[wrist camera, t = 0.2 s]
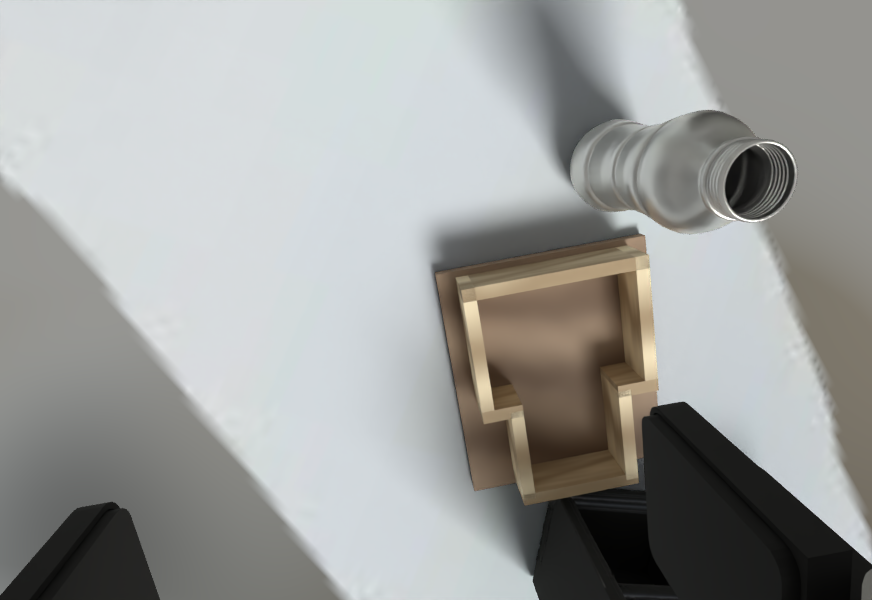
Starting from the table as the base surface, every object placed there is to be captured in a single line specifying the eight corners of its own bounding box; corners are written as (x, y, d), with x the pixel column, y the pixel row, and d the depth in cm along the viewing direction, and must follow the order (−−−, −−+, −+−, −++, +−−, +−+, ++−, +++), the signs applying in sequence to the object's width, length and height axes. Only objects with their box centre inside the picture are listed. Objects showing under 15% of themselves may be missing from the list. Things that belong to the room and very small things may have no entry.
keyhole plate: (434, 272, 46) (439, 287, 42) (639, 233, 47) (668, 244, 42) (473, 484, 52) (481, 519, 47) (656, 448, 52) (682, 479, 48)
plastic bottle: (552, 197, 46) (669, 239, 26) (577, 110, 44) (721, 86, 25) (627, 216, 46) (794, 269, 27) (654, 131, 45) (853, 123, 25)
